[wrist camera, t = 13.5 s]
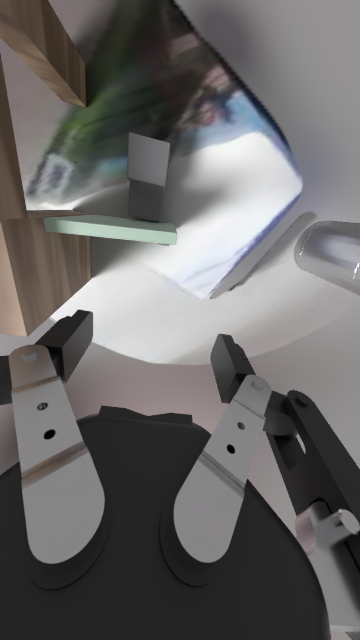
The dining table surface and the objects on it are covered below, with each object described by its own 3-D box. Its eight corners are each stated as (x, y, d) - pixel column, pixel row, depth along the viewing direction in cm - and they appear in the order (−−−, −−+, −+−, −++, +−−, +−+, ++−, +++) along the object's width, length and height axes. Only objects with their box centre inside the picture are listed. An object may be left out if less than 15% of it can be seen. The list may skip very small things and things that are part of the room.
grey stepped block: (169, 155, 30) (170, 143, 24) (161, 220, 34) (159, 222, 28) (136, 147, 29) (129, 132, 23) (132, 214, 33) (125, 215, 28)
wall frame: (85, 64, 25) (-116, -282, 7) (91, 278, 38) (27, 336, 21) (59, 56, 24) (-217, -330, 7) (75, 276, 38) (-4, 333, 21)
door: (172, 238, 35) (174, 256, 22) (95, 230, 34) (48, 243, 21) (173, 223, 34) (177, 233, 21) (93, 214, 32) (43, 218, 19)
